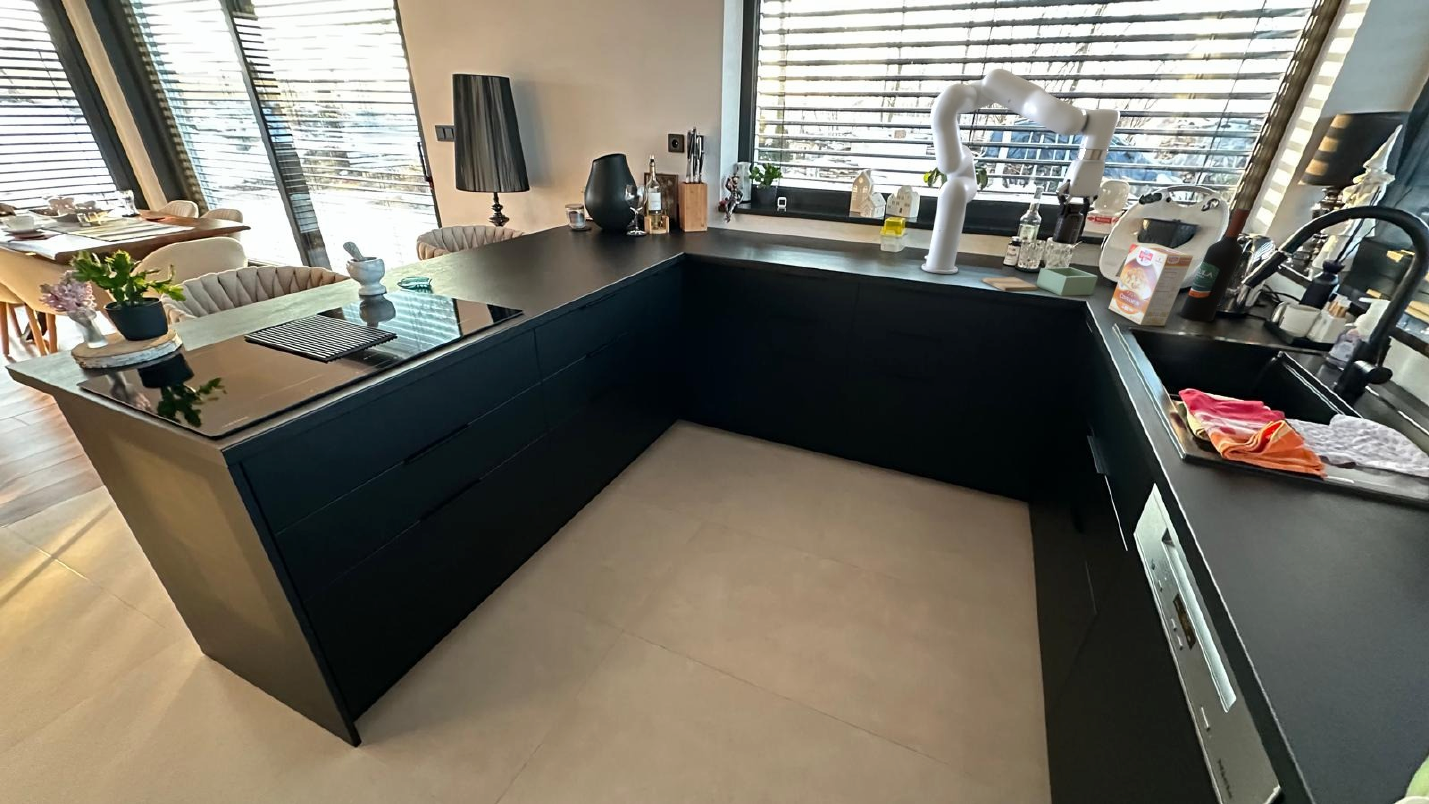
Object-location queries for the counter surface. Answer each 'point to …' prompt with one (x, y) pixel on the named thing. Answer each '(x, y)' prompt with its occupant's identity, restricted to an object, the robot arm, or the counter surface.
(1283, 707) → the counter surface
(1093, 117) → the robot arm
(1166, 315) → the coffeecake box
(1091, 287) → the box
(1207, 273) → the wine bottle
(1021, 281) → the cork board
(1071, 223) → the supplement bottle
